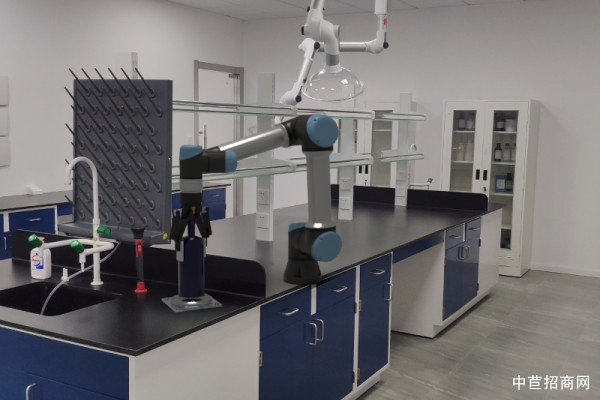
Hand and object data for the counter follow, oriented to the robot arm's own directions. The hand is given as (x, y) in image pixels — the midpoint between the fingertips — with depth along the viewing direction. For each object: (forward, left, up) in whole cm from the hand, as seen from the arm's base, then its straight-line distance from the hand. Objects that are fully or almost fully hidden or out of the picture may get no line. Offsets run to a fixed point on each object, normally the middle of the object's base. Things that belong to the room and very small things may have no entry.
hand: (191, 258), depth 211 cm
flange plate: (0, 0, -15) cm, 15 cm away
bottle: (0, 0, -13) cm, 13 cm away
